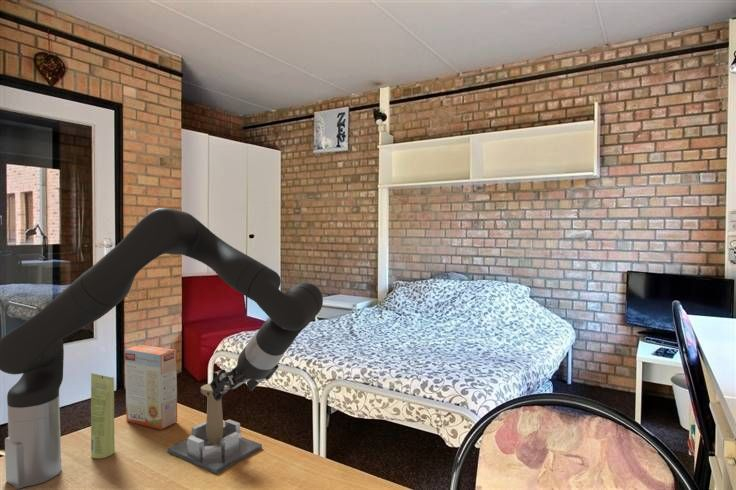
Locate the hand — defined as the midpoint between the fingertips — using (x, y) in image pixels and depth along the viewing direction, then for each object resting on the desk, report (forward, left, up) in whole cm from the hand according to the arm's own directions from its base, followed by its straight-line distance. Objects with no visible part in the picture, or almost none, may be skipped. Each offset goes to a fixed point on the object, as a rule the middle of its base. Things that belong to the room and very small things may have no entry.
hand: (233, 391), depth 104 cm
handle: (+3, +10, -17) cm, 20 cm away
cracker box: (+4, +38, -18) cm, 42 cm away
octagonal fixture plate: (+3, +10, -18) cm, 21 cm away
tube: (-13, +31, -18) cm, 38 cm away
